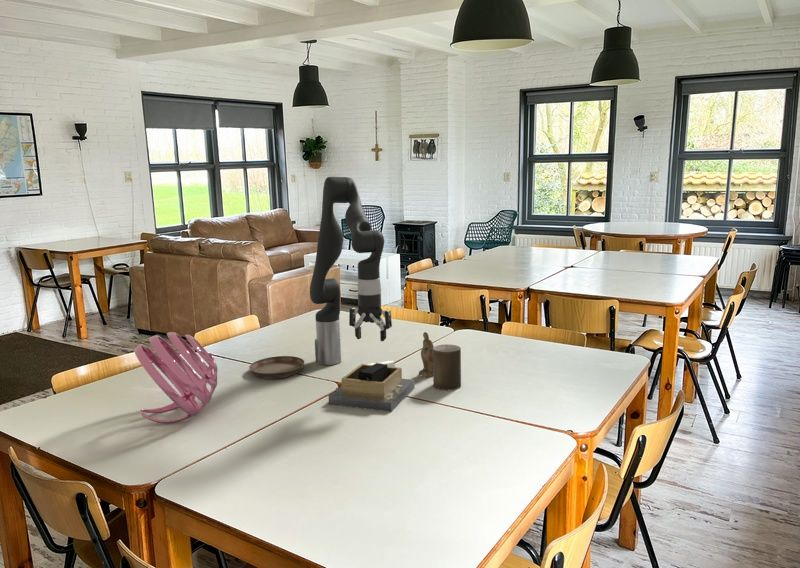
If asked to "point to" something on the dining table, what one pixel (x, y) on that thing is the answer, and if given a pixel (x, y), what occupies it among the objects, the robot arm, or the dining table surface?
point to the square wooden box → (372, 390)
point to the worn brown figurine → (427, 356)
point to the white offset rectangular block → (389, 363)
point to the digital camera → (374, 373)
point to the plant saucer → (277, 366)
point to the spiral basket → (179, 373)
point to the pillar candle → (447, 367)
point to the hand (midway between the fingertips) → (370, 339)
